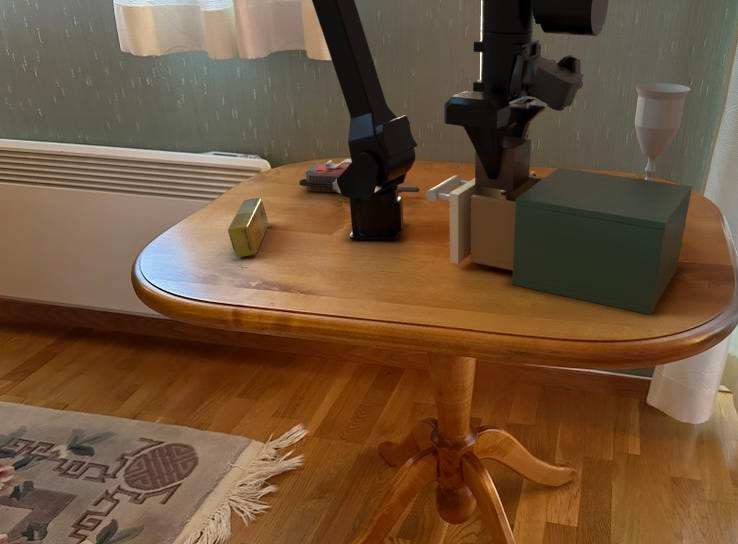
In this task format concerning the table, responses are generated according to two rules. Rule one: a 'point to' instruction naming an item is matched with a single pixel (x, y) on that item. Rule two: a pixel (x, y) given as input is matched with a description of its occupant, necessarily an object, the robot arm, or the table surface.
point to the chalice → (658, 118)
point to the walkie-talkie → (333, 177)
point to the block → (507, 166)
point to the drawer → (480, 220)
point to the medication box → (248, 227)
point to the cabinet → (599, 237)
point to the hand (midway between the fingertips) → (501, 173)
